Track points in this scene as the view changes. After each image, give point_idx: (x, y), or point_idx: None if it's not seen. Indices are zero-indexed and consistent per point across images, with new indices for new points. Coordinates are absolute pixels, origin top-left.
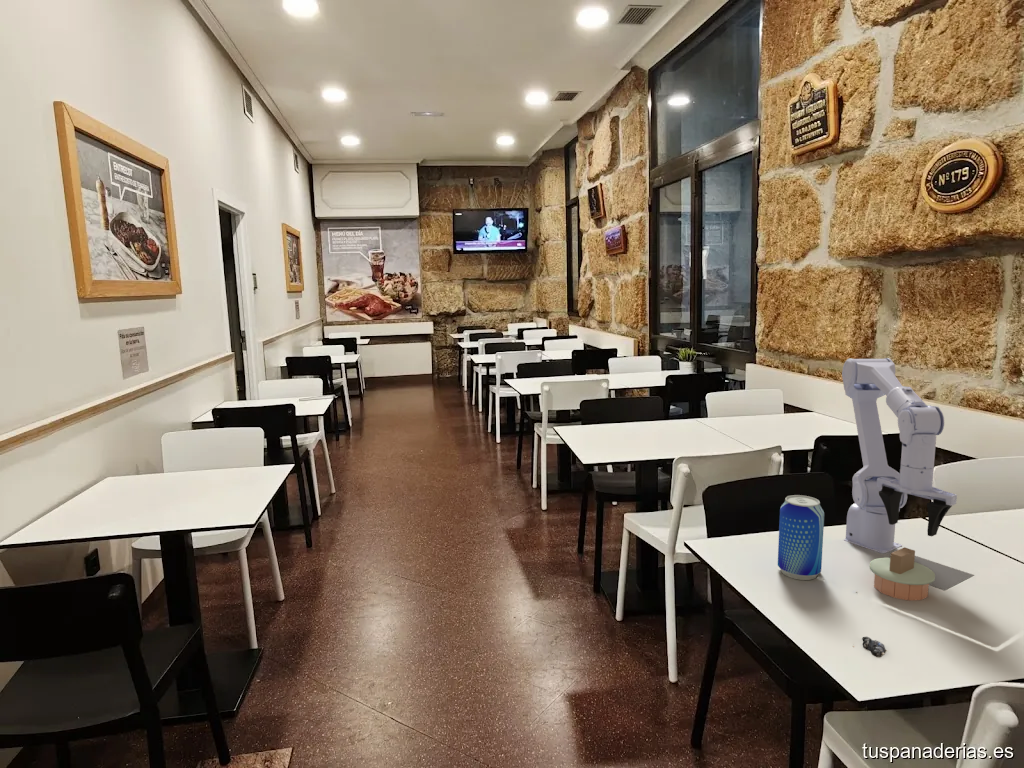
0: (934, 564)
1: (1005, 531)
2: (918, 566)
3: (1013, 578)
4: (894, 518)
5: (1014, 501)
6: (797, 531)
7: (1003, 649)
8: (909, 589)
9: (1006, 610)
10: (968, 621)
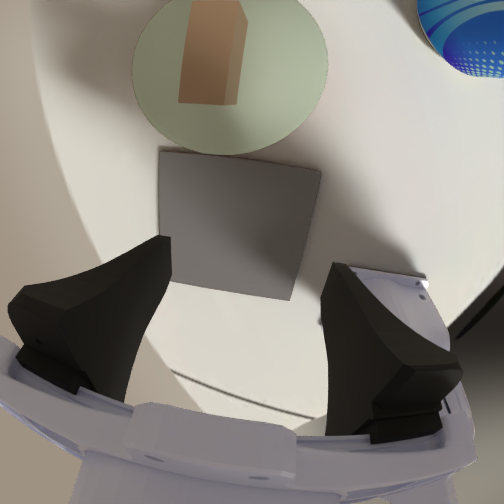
0: (236, 281)
1: None
2: (195, 127)
3: None
4: (332, 293)
5: None
6: None
7: (41, 30)
8: None
9: (71, 169)
10: (88, 60)
